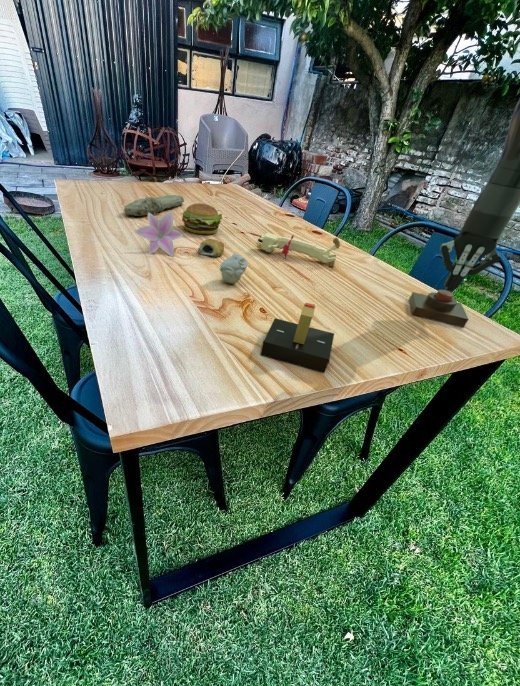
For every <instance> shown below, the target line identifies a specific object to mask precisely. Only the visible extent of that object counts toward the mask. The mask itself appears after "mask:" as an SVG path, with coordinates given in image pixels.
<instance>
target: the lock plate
mask: <svg viewBox="0 0 520 686" xmlns="http://www.w3.org/2000/svg"><path fill="white" fill-rule="evenodd" d="M297 326H298V323H296V322H291V321H287V320H285V319H280V318H276V317H275V318H274V319H273V321H272V323H271V325H270V327H269V329H268V331H267V333H266V335H265V337H264V339H263V342H262V345H261V350H260V356H263V357H266V358H270V359H274V360H277V361H281V362H284V363H287V364H292V365H294V366H298V367H301V368H305V369H309V370H313V371H316V372H320V373H325V372H326V370H327V368H328V365H329V362H330V359H331V355H332V354H331V353H332V348H333V342H334V337H335V333H334V332H330V331H326V330H323V329H318V328H315V327H311V326H309V329H308V333H307V336H306V339H305V342H304V344H300V343H296V342H293V340H294V337H295V333H296V330H297Z"/></svg>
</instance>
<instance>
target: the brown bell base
mask: <svg viewBox="0 0 520 686" xmlns="http://www.w3.org/2000/svg"><path fill="white" fill-rule="evenodd" d="M436 294H437V292H434V291H431V292H430V293H428V294H423V293H419V292H415V291H412V293H411V294H410V296H409V299H408V302H409V308H410V313H411V316H414V317H419V318H423V319H427V320H430V321H435V322H439V323H443V324H447V325H451V326H455V327H460V328H464V327H465V326H466V325H467V323H468V321H469V320H470V318H469V317H468V315H467V313H466V311H465V308H464V307H463V305H462V303H461V302H459V301H457V299H456V298H455V297H453V298H452V299H451V301H450V302H445V301H441V300H439V299H437V298H435V295H436ZM457 302H458V303H457Z"/></svg>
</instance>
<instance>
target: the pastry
mask: <svg viewBox="0 0 520 686" xmlns="http://www.w3.org/2000/svg"><path fill="white" fill-rule="evenodd" d="M224 250H225V243H224V242H222V241H220V240H218V239H213V238H207V239H204V240H202V241H201V242H200V245H199V247H198V248H197V252H198V253H199V255H201V256H208V257H212V258H213V257H215V258H216V257H220V256H221V255H222V254H224Z"/></svg>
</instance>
